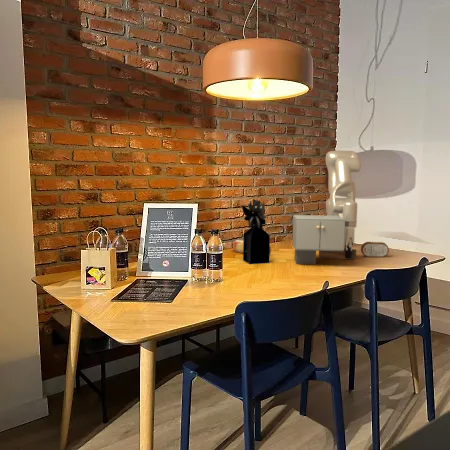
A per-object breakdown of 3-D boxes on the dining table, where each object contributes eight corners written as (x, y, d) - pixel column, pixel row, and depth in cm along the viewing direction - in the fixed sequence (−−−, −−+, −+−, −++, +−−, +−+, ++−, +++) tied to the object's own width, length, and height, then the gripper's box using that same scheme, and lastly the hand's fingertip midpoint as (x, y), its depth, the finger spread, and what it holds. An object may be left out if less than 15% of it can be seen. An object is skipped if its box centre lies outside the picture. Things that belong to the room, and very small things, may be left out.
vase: (245, 265, 219) (246, 196, 215) (237, 260, 230) (238, 194, 226) (271, 263, 224) (272, 196, 219) (262, 259, 235) (264, 194, 230)
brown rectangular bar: (318, 257, 240) (318, 248, 239) (355, 258, 238) (355, 249, 238) (319, 258, 238) (319, 249, 237) (356, 259, 236) (356, 250, 236)
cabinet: (292, 258, 237) (293, 215, 234) (336, 259, 235) (338, 215, 232) (295, 266, 218) (296, 219, 215) (343, 267, 216) (345, 219, 213)
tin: (387, 256, 245) (388, 242, 244) (389, 257, 242) (389, 242, 241) (360, 255, 247) (361, 241, 246) (361, 257, 244) (362, 242, 243)
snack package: (271, 255, 246) (271, 243, 245) (265, 257, 241) (265, 244, 240) (239, 250, 260) (239, 239, 259) (232, 252, 254) (232, 240, 253)
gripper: (339, 222, 243) (338, 254, 246) (345, 225, 228) (343, 260, 230) (353, 222, 243) (351, 254, 245) (359, 226, 227) (357, 260, 229)
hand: (347, 257), depth 238 cm, fingers closed on brown rectangular bar, 2 cm apart
